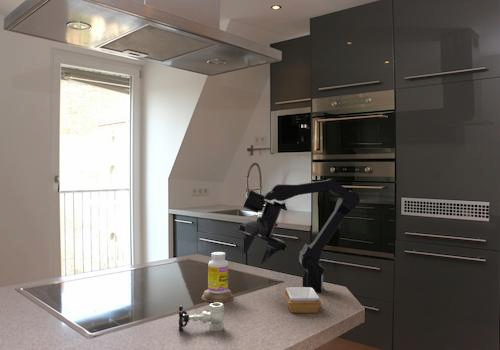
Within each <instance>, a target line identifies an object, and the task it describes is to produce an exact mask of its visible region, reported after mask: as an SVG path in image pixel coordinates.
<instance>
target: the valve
mask: <svg viewBox="0 0 500 350" xmlns="http://www.w3.org/2000/svg"><path fill="white" fill-rule="evenodd" d="M208 306H209V309H208V310H209V312H207V311H205V310H204V311H202V313H200V314H199V313H193V314H192V315H190V314H189V313H188V311H185V310H184V305H179V306H178V325H179V326H178V331H179V332H182V331H184V327H186V326H188V323H189V322H190V321H191V320H192V322H199V321H200V322H202V324H207V323H208V322H209V323H208V325H209V330H211V331H212V332H221V331H223V330H224V326H225V325H224V320H225V313H224V307H225V306H224V304H223V302H222V303H218V302H216V303H211V302H210V303H209V305H208Z"/></svg>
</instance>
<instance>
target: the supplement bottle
mask: <svg viewBox="0 0 500 350" xmlns="http://www.w3.org/2000/svg"><path fill="white" fill-rule="evenodd" d="M210 257H211V260H209V262H208V266H207V267H208V268H207V273H208V274H207V289H208V291H209V292H210V293H212V294H223V293H226V292H227V291H228V289H229V262H228V261H227V260H226V259H225V258H226V252H224V251H214V252H211V256H210Z"/></svg>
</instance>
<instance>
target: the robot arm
mask: <svg viewBox="0 0 500 350" xmlns="http://www.w3.org/2000/svg"><path fill="white" fill-rule="evenodd" d="M327 191H329V192H330V193H331V194H332V195H334V196H335V197H336V198H337V201H336V204H335V207H334V211H332V213H331V215H330V216H329V218H327V220H326V222H325V223H324V225H323V226H322V228H321V230H320V231H319V232H318V234H317V235H316V237H315V239H314V240H313V241H312V242H311V243H309V245H308V244H307V243H304V245H303V247H302V249H301V250H300V251H299V256H298V259H299V262H300V264H301V266H302V267H303V269H305V271H304V273H303V274H304V275H302V287H311V288H313V289H314V291H315V292H316V293H322V292H323V290H324V288H325V287H324V271H325V269H324V267H323V266H322V265H321V263H319V261H320V259H322V258H321V256H322V253H323V251H324V249H325V247H326V246H327V244H328V243H329V241H330V240H331V238H332V236H334V234H335V232H336V231H337V229H338V228H339V226H340V225H341V223H342V222H343V220H344V219H345V217H347V216H348V215H349V214H351V212H353V211H354V209H356V208H357V206H358V205H359V204H360V202H361V199H360V198H361V197H360V195H359V194H358V193H357V192H356V191H354V190H353V191H352V190H349V189H347V188H346V187H344V186H343V185H341V184H339V183H338V182H337V181H336V180H335V179H333V178H328V179H326V180H319V181H313V182H305V183H300V184H288V183H287V184H285V183H283V184H281V183H280V184H274V185H273V186H272V187H271V190H270V191H268V192H267V193H265V194H261V193H258V192H255V191H254V190H252V189H249V192H248V194H247V197H246V198H245V200H244V203H243V205H242V208H243V209H246V210H249V211H251V212H253V213H259V212H262V211H263V212H262V214H261V216H258V217H257V219H256V220H255V221H254V220H253V221H249V222H242V223H240V225H239V227H238V230H239V231H240V233H241V235H242V237H243V250H242V251H243V252H242V253H243V254H245V255H246V254H247V252H248V251H249V249H250V247H251V245H252V244H253V241H254V240H255V238H256V237H257V238H259V239H262V240H263V241H265V242H267V244H265V249H266V250H265V252H264V254H263V257H262V260H261V262H260V263H261V264H262V265H264V264H266V263H267V261H269V259H271V258H272V257H273V256H274V255H275V254H277V253H278V252H282V251H285V250H286V247H287V243H286V242H285V241H283V240H282V239H280V238H276V237H274V233H273V231H274V230H275V227H278V223H277V221H278V218H279V216H280V214H281V211H282V210H284V211H288V208H287V206H286V202H284V201H286V200H288V199H291V198H293V197H297V196H300V195H301V196H302V195H306V194H315V193H320V192H327ZM270 201H273V202H270ZM282 201H283V202H282ZM281 202H282V203H281ZM265 203H266V204H265Z"/></svg>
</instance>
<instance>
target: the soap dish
mask: <svg viewBox="0 0 500 350" xmlns="http://www.w3.org/2000/svg"><path fill="white" fill-rule="evenodd" d="M283 294H284V296H285V297H284V298H285V300H286V303H287V305H288V308H289V310H290V313H292V314H294V313H297V314H300V313H301V314H302V313H303V314H304V313H305V314H307V313H309V314H310V313H315V314H316V313H318V312H319V309H320V306H321V304H322V301H321V299H320V298H319V295H318V294H317V292H315V291H314V289H313V288H311V287H303V286H297V287H296V286H294V287H293V286H292V287H291V286H289V287H286V288H285V290H283Z"/></svg>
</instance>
